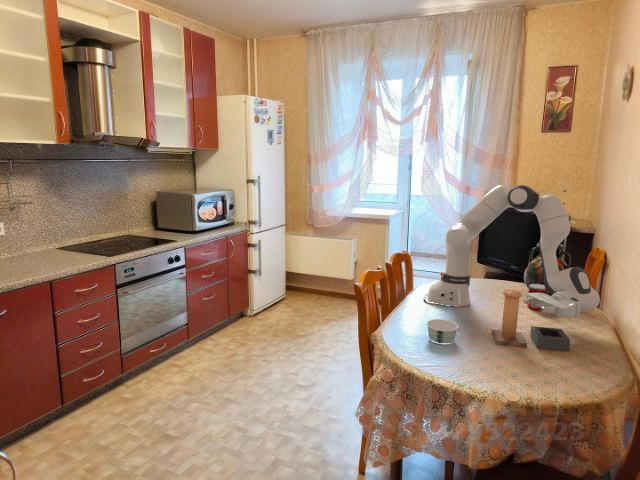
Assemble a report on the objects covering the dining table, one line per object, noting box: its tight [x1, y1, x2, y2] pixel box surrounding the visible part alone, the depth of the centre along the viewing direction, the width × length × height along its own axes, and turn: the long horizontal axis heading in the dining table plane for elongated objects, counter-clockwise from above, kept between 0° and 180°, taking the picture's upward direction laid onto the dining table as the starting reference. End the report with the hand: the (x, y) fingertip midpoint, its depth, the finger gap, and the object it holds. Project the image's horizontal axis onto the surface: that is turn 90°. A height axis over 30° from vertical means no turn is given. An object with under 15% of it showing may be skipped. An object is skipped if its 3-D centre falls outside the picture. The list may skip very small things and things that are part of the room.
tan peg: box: [501, 289, 523, 339], centre depth 168 cm, size 6×6×18 cm
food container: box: [426, 318, 459, 343], centre depth 169 cm, size 12×12×6 cm
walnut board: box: [491, 329, 528, 348], centre depth 170 cm, size 11×11×2 cm
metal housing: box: [529, 326, 571, 352], centre depth 166 cm, size 11×11×4 cm
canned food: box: [527, 284, 548, 312], centre depth 206 cm, size 8×8×11 cm
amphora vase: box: [523, 242, 572, 296], centre depth 219 cm, size 22×22×28 cm
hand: (533, 305), depth 171 cm, fingers open, 8 cm apart
